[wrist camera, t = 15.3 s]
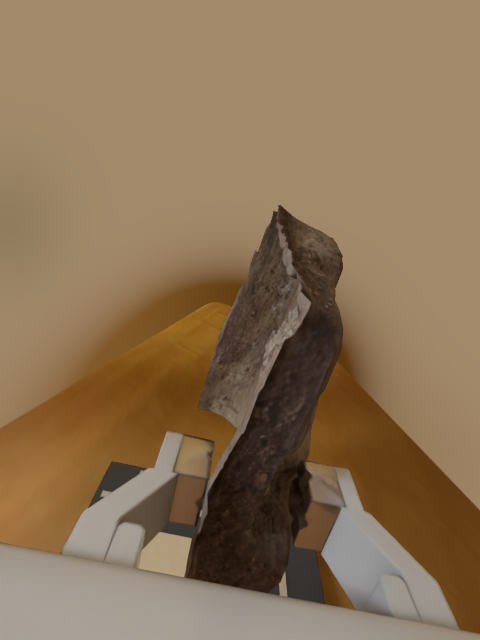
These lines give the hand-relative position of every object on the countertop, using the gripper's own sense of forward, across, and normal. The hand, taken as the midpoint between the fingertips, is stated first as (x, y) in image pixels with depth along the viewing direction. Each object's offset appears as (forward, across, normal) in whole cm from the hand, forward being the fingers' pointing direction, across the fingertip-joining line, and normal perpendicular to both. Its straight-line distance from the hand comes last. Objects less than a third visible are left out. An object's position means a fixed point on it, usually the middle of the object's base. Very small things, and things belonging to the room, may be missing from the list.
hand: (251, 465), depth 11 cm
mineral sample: (+6, 0, +8) cm, 10 cm away
